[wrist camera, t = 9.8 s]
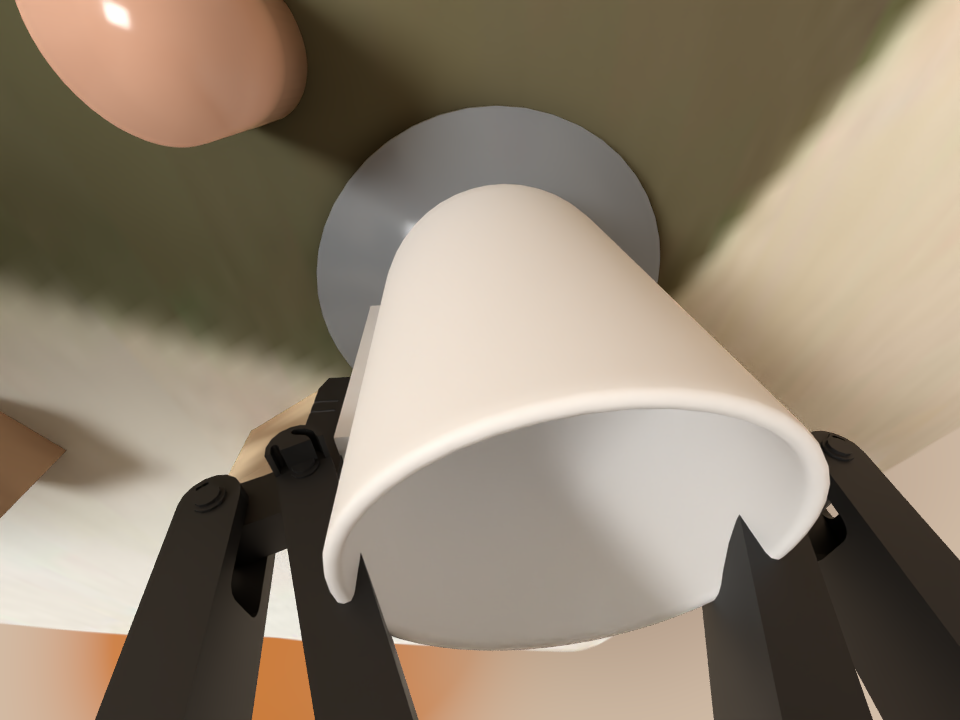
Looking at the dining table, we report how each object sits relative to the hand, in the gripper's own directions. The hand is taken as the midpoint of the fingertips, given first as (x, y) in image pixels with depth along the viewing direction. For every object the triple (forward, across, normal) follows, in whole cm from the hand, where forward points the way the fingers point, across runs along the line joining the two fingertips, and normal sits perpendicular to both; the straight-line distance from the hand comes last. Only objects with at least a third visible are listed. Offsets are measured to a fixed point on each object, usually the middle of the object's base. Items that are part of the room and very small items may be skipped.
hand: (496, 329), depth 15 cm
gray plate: (+3, 0, 0) cm, 3 cm away
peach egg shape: (+3, -8, +9) cm, 12 cm away
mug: (0, -1, 0) cm, 1 cm away
